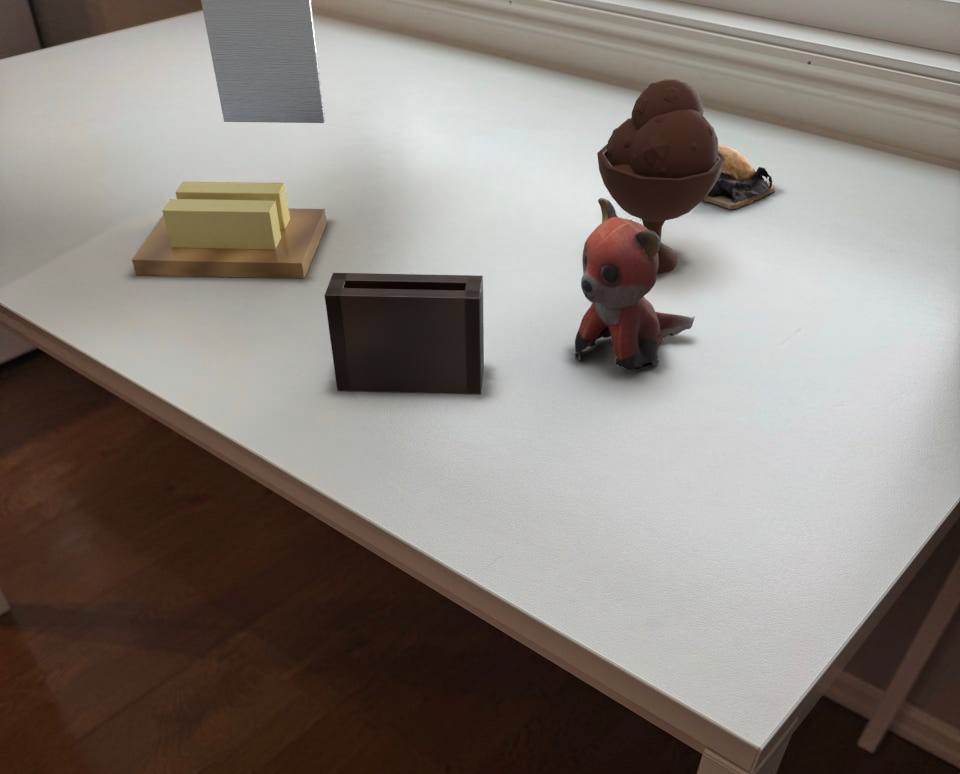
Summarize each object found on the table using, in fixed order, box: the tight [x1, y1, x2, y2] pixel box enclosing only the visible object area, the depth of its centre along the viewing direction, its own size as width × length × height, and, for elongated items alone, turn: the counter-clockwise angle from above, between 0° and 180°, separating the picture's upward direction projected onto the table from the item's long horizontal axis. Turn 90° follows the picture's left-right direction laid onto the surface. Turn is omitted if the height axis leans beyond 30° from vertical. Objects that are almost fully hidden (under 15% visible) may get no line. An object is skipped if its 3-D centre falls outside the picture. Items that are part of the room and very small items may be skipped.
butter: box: [161, 180, 290, 250], centre depth 92 cm, size 10×7×4 cm
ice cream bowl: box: [596, 78, 726, 275], centre depth 86 cm, size 11×11×15 cm
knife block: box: [324, 272, 485, 395], centre depth 74 cm, size 11×4×8 cm, turn 86°
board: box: [131, 207, 328, 279], centre depth 94 cm, size 16×12×2 cm
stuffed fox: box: [574, 197, 696, 372], centre depth 75 cm, size 8×11×12 cm
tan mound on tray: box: [703, 144, 776, 211], centre depth 102 cm, size 11×8×4 cm
